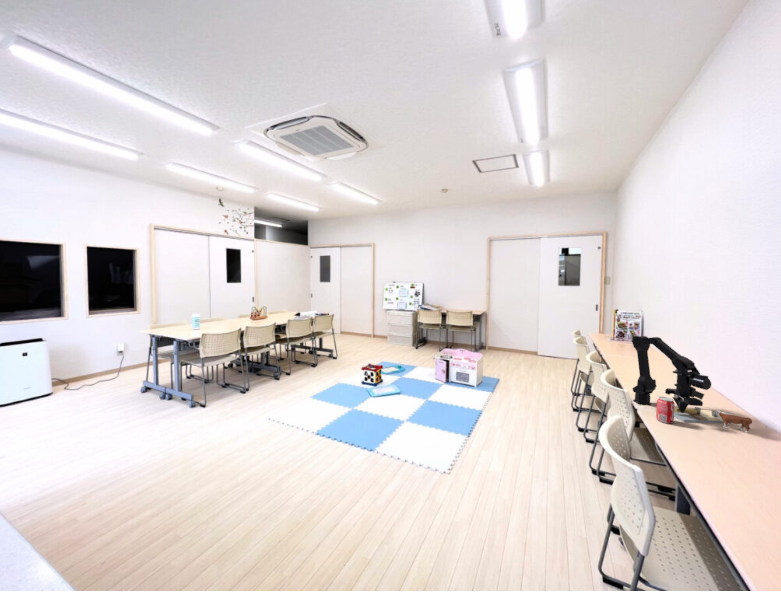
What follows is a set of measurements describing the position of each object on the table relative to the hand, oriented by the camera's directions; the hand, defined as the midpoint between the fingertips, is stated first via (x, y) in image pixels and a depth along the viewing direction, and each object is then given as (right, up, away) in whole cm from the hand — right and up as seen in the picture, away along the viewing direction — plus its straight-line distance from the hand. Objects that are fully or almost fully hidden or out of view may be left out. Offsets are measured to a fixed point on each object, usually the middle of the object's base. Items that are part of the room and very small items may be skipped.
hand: (682, 412), depth 171 cm
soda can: (-12, -3, -3) cm, 13 cm away
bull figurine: (+14, -4, -11) cm, 19 cm away
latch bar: (+4, -1, +2) cm, 5 cm away
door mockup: (+9, -3, +1) cm, 10 cm away
